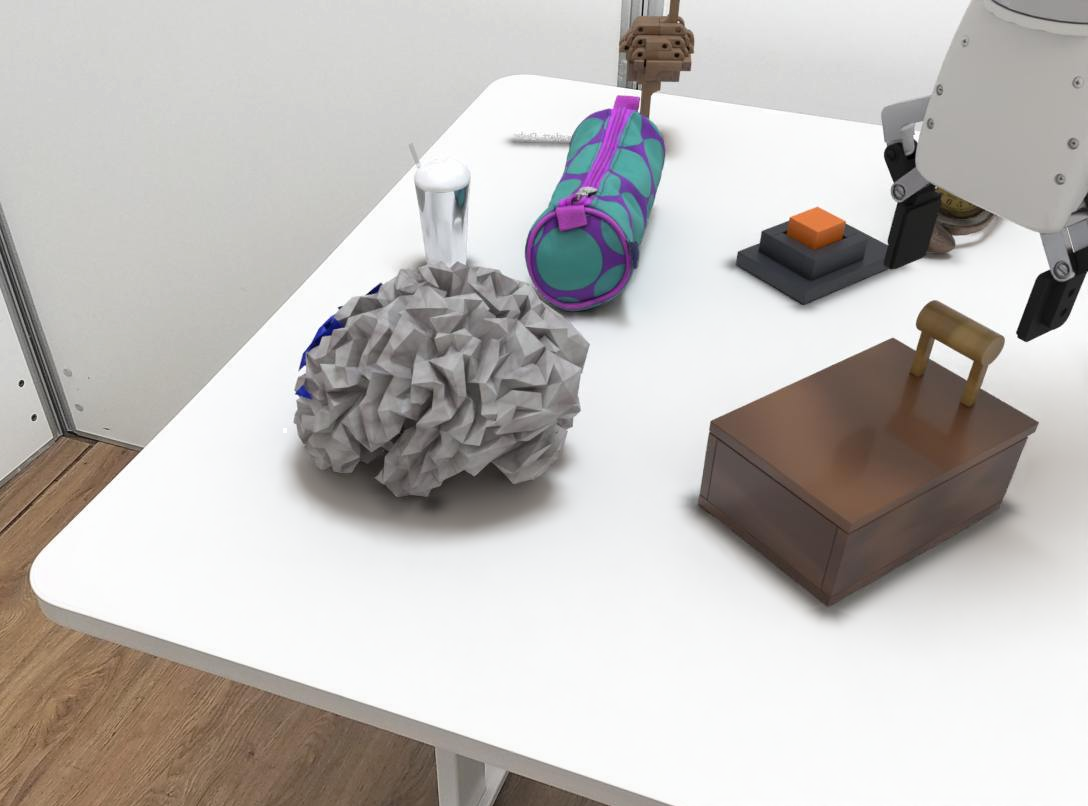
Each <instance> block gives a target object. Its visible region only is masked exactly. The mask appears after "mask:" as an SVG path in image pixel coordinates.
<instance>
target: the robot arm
mask: <svg viewBox="0 0 1088 806" xmlns="http://www.w3.org/2000/svg"><path fill="white" fill-rule="evenodd" d="M880 116H881V117H880V119H881V125H882V133H883V141H884V143H886V147H885V149H884V151H883V159H884V162H885V165H886V167H887V170H888V172H889V175H890V178H891V180H892V182H893V184H892V185H891V187H890V196H891V199H892V200H893V201H894V202H896V206H895V210H894V213H893V218H892V222H891V225H890V229H889V233H888V237H887V245H888V247H887V251H886V255H885V259H884V263H883V265H884V266H885V267H887V268H888V269H889V270H892V271H893V270H897V269H899V268H901V267H904V266H907V265H909V264H911V263H914V262H916V261H919V260H921V259H923V258H925V256H926V255H927V253H928V252H927V251H928V247H929V244H930V240H931V237H932V234H933V230H934V227H935V223H936V220H938V217H939V210H940V206H941V202H942V201H941V197H942V194H940V193H938V192H936V191H935V189H936V188H937V187H939V188H941V189H943V190H945V191H947V192H949V193H951V194H953V195H955V196H957V197H959V198H961V199H963V200H965V201H968V202H970V203H972V204H974V205H976V206H978V207H980V208H982V209H985V211H987V212H989V213H990V212H991V213H993V214H995V215H996V216H998V217H999V218H1002V219H1003V220H1006V221H1008V222H1011V223H1013V224H1015V225H1018V226H1020V227H1022V228H1024V229H1026V230H1029V231H1031V232H1034V233H1038V234H1039V237H1040V240H1041V243H1042V246H1043V250H1044V253H1045V258H1046V260H1047V264H1048V267H1049V269H1048V270H1045V271H1043V272H1040V273H1039V274H1038V275H1037V277H1036V278H1035V280H1034V283H1033V286H1032V288H1031V292H1030V294H1029V296H1028V299H1027V302H1026V304H1025V307H1024V309H1023V313H1022V315H1021V318H1020V320H1019V323H1018V326H1017V328H1016V331H1015V335H1017V339H1019V340H1021V341H1022V342H1024V343H1029V342H1030V341H1033V340H1035V339H1036V338H1039V337H1041V336H1043V335H1045V334H1047V333H1049V332H1051V331H1055V330H1057V329H1059V328H1061V327H1062V326H1063V325H1064V324H1065V323H1066V322H1067V320H1068V319H1069V317H1070V315H1071V313H1072V311H1073V308H1074V305H1075V303H1076V301H1077V299H1078V295H1079V294H1080V291H1081V289H1082V285H1084V284H1083V283H1084V281H1085V279H1086V276H1087V273H1088V0H970V2H969V3H968V6H967V7H966V9H965V12H964V14H963V16H962V18H961V20H960V22H959V24H958V26H957V28H956V31H955V33H954V34H953V36H952V40H951V42H950V45H949V47H948V49H947V51H946V54H945V56H944V59H943V61H942V64H941V67H940V70H939V72H938V75H937V77H936V80H935V83H934V85H933V90H932V92H931V94H929V95H924V96H919V97H914V98H912V99H911V98H910V99H905V100H902V101H898V102H895V103H892V104H889V105H886V106H884V107H883V109H882V110H881V113H880ZM920 122H922V124H921V128H920V131H919V135H918V140H916V139H915V137H914V136H915V135H916V131H915V127H916V124H917V123H920Z"/></svg>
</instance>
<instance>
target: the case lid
mask: <svg viewBox="0 0 1088 806" xmlns="http://www.w3.org/2000/svg"><path fill="white" fill-rule="evenodd" d="M915 328H916V329H917V330H918V331H919V332H920V335H919V338H918V341H917V345H916V349H914V348H913V347H911V346H908V345H907V344H905V343H904V342H902V341H900V340H899V339H896V338H895V337H891V338H889V339H886V340H884V341H882V342H880V343H878V344H875V345H873V346H871V347H869V348H867V349H864V350H862V351H860V352H857V353H856V354H853V355H851V356H849V357H847V358H845V359H843V360H841V361H838V362H836V363H834V364H831V365H830V366H827V367H825V368H822V369H820V370H818V371H817V372H814V373H812V374H810V375H807V376H805V377H803V378H801V379H799V380H797V381H795V382H792V383H790V384H788V385H786V386H784V387H782V388H779V389H777V390H775V391H773V392H771V393H769V394H766V395H764V396H762V397H760V398H757V399H755V400H753V401H751V402H749V403H747V404H745V405H742V406H739V407H738V408H736V409H733V410H730V411H729V412H727V413H725V414H722V415H720V416H718V417H716V418H713V419H712V420H710V421H709V429H708V431H709V432H711V433H712V434H714V435H715V436H716V437H718V438H719V439H721V440H722V441H723V442H725V443H726V444H727V445H729V446H730V447H731V448H733V449H734V450H735V451H737V452H738V453H740V454H741V455H742V456H744V457H745V458H746V459H748V460H749V461H750V462H752V463H753V464H755V465H756V466H757V467H759V468H760V469H761V470H763V471H764V472H765V473H767V474H768V475H769V476H771V477H772V478H774V479H775V480H776V481H778V482H779V483H780V484H782V485H783V486H784V487H786V488H787V489H788V490H790V491H791V492H793V493H794V494H795V495H797V496H798V497H799V498H801V499H802V500H803V501H805V502H806V503H808V504H809V505H810V506H812V507H813V508H814V509H816V510H817V511H818V512H820V513H821V514H822V515H824V516H825V517H827V518H828V519H829V520H831V521H832V522H833V523H835V524H836V525H837V526H839V527H840V528H841V529H843V530H844V531H846V532H847V533H850V532H852V531H854V530H856V529H858V528H860V527H861V526H863V525H865V524H867V523H869V522H871V521H873V520H874V519H876V518H878V517H880V516H882V515H884V514H885V513H887V512H889V511H891V510H893V509H895V508H897V507H898V506H900V505H902V504H904V503H906V502H908V501H909V500H911V499H913V498H915V497H917V496H919V495H920V494H922V493H924V492H926V491H928V490H930V489H932V488H933V487H935V486H937V485H939V484H941V483H943V482H944V481H946V480H948V479H950V478H952V477H954V476H956V475H957V474H959V473H961V472H963V471H965V470H967V469H968V468H970V467H972V466H974V465H976V464H978V463H980V462H981V461H983V460H985V459H987V458H989V457H991V456H992V455H994V454H996V453H998V452H1000V451H1002V450H1004V449H1005V448H1007V447H1009V446H1011V445H1013V444H1015V443H1016V442H1018V441H1020V440H1022V439H1024V438H1026V437H1029V436H1031V435H1033V434H1035V433H1036V432H1037V429H1038V426H1039V424H1040V422H1039V421H1038V420H1036V419H1034V418H1033V417H1031V416H1029V415H1027V413H1024V412H1023V411H1021V410H1019V409H1018V408H1015V407H1014V406H1012V405H1010V404H1008V403H1006V401H1003V400H1002V399H1000V398H998V397H996V396H995V395H993V394H992V393H989V392H988V391H986V390H984V389H983V388H982V385H983V382H984V379H985V376H986V373H987V371H988V368H989V366H990V365H991V364H992V363H994V362H995V361H996V360H997V358H998V357H999V356H1000V354H1001V353H1002V351H1003V349H1004V346H1005V343H1006V339H1005V336H1004V335H1002V334H1001V333H999V332H996V330H995V331H994V330H993V329H991V328H989V327H987V326H986V325H983V324H982V323H980V322H978V321H976V320H974V319H973V318H971V317H969V316H967V315H966V314H964V313H962V312H960V311H958V310H956V309H955V308H953V307H950V305H949V306H948V305H947V304H945V303H943V302H941V301H939V300H937V299H932V300H930V301H929V302H927V303H926V304H924V306H923V307H922V309H921V310H920V311H919V313H918V315H917V317H916V320H915ZM935 341H937V342H939V343H941V344H942V345H945V346H946V347H948V348H949V349H952V350H953V351H955V352H957V353H959V354H960V355H962V356H964V357H965V358H968V359H969V360H971V361H972V365H971V368H970V370H969V373H968V376H967V379H966V378H964V377H962V376H961V375H958V373H955V372H954V371H953V370H952V371H951V370H950V369H948V368H946V367H945V366H943V365H941V364H940V363H938V362H936V361H934V360H932V359H931V358H930V357H931V355H932V350H933V347H934V344H935Z"/></svg>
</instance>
